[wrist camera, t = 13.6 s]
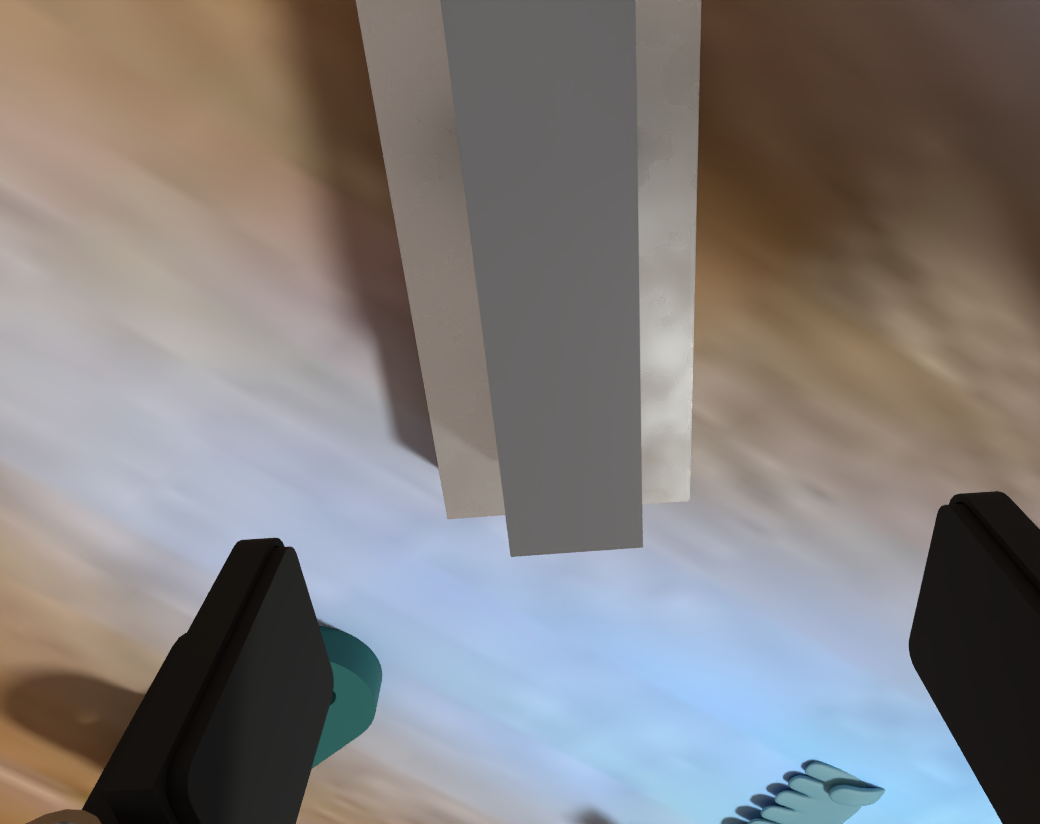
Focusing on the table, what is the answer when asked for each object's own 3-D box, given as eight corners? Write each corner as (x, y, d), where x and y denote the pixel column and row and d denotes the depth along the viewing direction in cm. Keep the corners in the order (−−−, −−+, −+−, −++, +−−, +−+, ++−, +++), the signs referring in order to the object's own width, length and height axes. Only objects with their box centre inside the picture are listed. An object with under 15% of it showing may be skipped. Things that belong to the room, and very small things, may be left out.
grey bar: (602, -66, 22) (634, -88, 16) (618, 439, 31) (642, 547, 25) (455, -50, 23) (432, -65, 17) (512, 447, 32) (510, 556, 25)
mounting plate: (683, -153, 22) (705, -172, 20) (676, 460, 33) (689, 500, 30) (354, -115, 23) (332, -129, 20) (453, 477, 33) (447, 519, 31)
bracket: (213, 810, 46) (159, 953, 39) (116, 759, 44) (41, 902, 37) (408, 670, 40) (385, 810, 33) (309, 602, 38) (262, 738, 31)
